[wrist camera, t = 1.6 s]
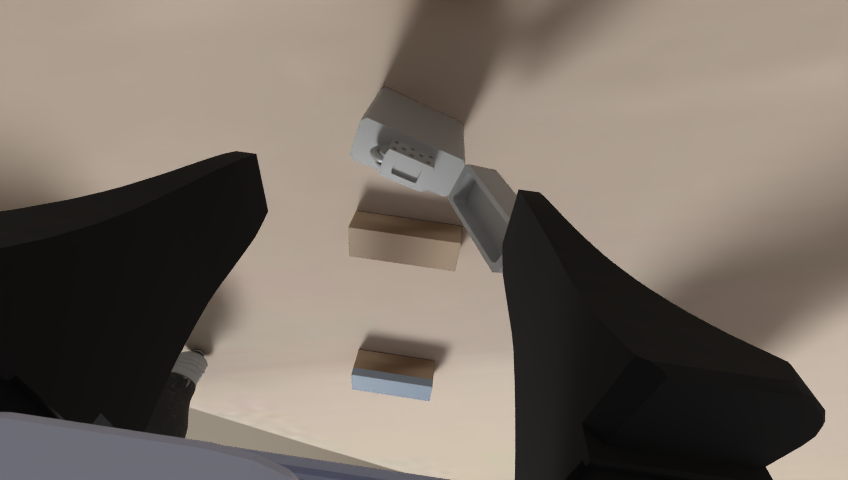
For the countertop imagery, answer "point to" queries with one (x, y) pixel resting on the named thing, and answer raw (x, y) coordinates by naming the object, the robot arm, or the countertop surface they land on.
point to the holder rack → (404, 246)
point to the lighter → (435, 166)
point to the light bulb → (177, 396)
